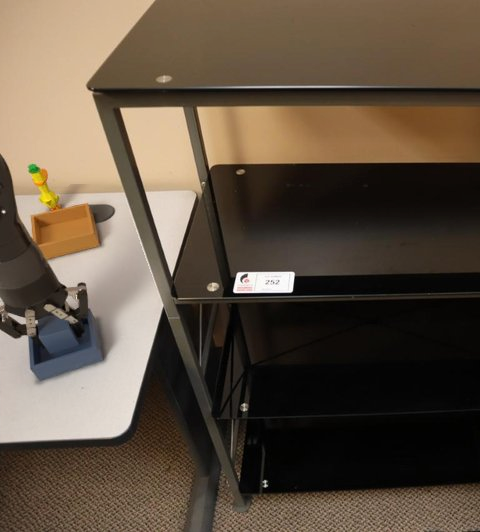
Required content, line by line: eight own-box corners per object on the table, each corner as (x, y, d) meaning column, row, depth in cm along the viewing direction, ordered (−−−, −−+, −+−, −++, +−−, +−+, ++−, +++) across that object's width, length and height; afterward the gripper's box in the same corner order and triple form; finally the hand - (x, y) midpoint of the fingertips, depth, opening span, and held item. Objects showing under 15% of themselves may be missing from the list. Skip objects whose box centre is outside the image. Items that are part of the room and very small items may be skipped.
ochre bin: (37, 228, 109) (30, 215, 107) (93, 215, 113) (87, 202, 111) (40, 260, 103) (33, 247, 100) (100, 245, 107) (94, 233, 104)
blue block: (48, 334, 88) (37, 318, 84) (76, 326, 89) (67, 310, 86) (49, 354, 85) (38, 338, 82) (79, 344, 87) (69, 328, 84)
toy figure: (49, 200, 116) (25, 155, 107) (67, 198, 117) (45, 153, 108) (45, 219, 111) (20, 173, 103) (63, 217, 112) (40, 171, 104)
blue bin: (36, 338, 90) (27, 326, 87) (96, 320, 94) (89, 307, 91) (39, 381, 84) (30, 369, 82) (103, 360, 88) (96, 347, 85)
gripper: (69, 239, 80) (105, 309, 92) (-41, 266, 74) (13, 337, 86) (74, 271, 75) (112, 340, 87) (-43, 302, 70) (14, 371, 82)
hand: (62, 338), depth 87 cm, fingers closed on blue block, 4 cm apart
